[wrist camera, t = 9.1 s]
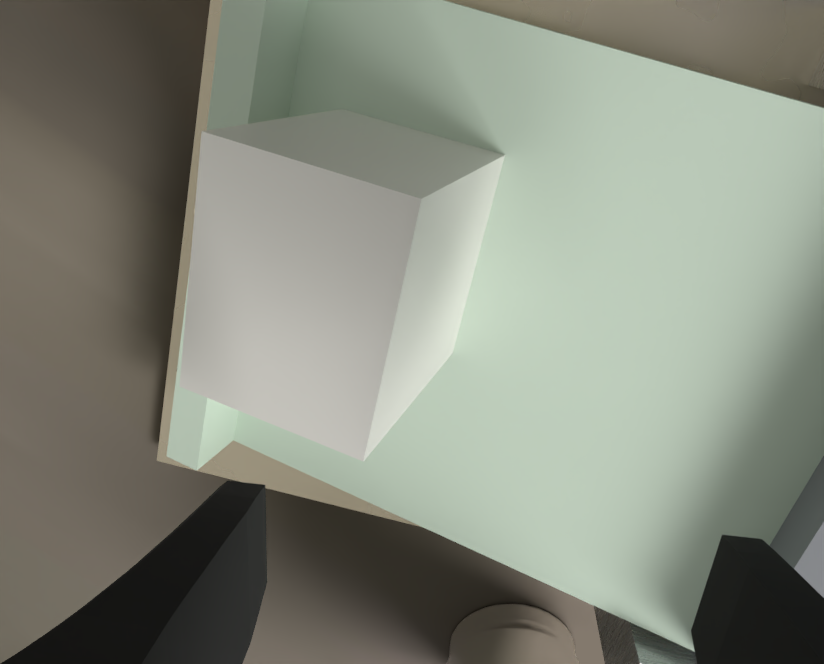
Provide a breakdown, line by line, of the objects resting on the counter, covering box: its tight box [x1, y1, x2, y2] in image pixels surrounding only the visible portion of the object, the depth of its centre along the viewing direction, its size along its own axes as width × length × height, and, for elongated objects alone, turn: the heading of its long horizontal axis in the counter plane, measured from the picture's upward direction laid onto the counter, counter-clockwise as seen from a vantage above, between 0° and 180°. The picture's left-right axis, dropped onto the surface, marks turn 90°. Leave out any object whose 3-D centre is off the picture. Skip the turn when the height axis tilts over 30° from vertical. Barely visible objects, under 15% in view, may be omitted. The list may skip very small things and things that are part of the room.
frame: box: [157, 0, 824, 664], centre depth 18 cm, size 22×18×6 cm
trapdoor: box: [167, 0, 824, 652], centre depth 17 cm, size 21×13×4 cm, turn 76°
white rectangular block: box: [180, 109, 505, 462], centre depth 15 cm, size 4×5×6 cm
